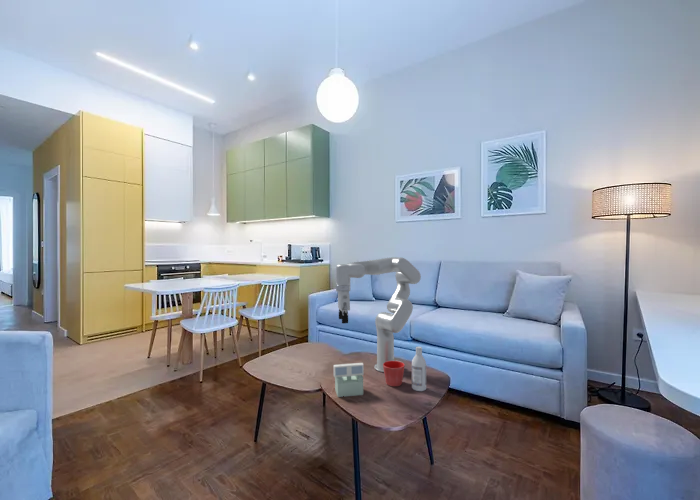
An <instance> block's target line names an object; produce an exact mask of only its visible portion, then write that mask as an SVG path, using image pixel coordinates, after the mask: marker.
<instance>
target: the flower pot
mask: <svg viewBox="0 0 700 500" xmlns="http://www.w3.org/2000/svg"><path fill="white" fill-rule="evenodd" d="M399 361H400V360H398V361H396V360H395V361H387V362H385V363H383V368H384V372H383V373H384V379H385V384H386V385H387V386H389V387H400V386H402V384H403V378H404V375H405V373H404V372H405V365H406V364H405V363H404V362H403V361H402V362H399Z"/></svg>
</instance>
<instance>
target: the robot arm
mask: <svg viewBox="0 0 700 500" xmlns="http://www.w3.org/2000/svg"><path fill="white" fill-rule="evenodd" d="M389 273H395V275H394V276H395V281H396V288H395V290H394V292H393V294H392V296H391V297H390V299H389V300H388V302H387V304H386V309H387V311H388V312H386V311H383V312H382V311H381V312H379V313H378V314H377V315H376V316H375V321H374V322H375V329H376V363H375V364H374V368H373V369H375V370H376V371H378V372H381V373H384V368H383V363H385V362H387V361H399V362H402V363H403V360H397V359H396V360H395V337H394V335H395V334H399V333H400V332H401V331H402V330H403V329H404V327H405V325H406V324H407V323H408V320H409V319H410V317H411V315H412V313H413V307H414V306H413V303H412V301H410V300H409V298H410V295H411V288H410V285H417V284H418V283H420V281H421V279H422V278H421V277H422V276H421V273H420V271H419V269H418V268H416V266H414V265H413V264H412V263H411V262H410V261H409V260H408V259H406V258H405V257H397V256H392V257H384V258H378V259H371V260H370V259H369V260H363V261H354V262H349V263H347V264H340V263H339V264H336V266H335V291H336V292H337V307H338V320H341V324H348V323H349V312H350V310H351V307H350V306H351V300H350V292H351V279H360V278H363V277H364V276H365V275H366V276H367V275H369V276H378V275H383V274H389Z"/></svg>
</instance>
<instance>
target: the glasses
mask: <svg viewBox="0 0 700 500" xmlns="http://www.w3.org/2000/svg"><path fill="white" fill-rule="evenodd" d="M364 367H365V366H364V362H353V363H341V364H333V378H335V377H347V376H359V375H362V376H364V371H365V370H364Z"/></svg>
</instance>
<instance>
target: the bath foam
mask: <svg viewBox="0 0 700 500" xmlns="http://www.w3.org/2000/svg"><path fill="white" fill-rule="evenodd" d="M411 389H412V390H413V391H417V392H424V391H426V390H427V361H426V359H425V358H424V356H423V348H422V346H416V347H415V355H414V356H413V358H412V360H411Z"/></svg>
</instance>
